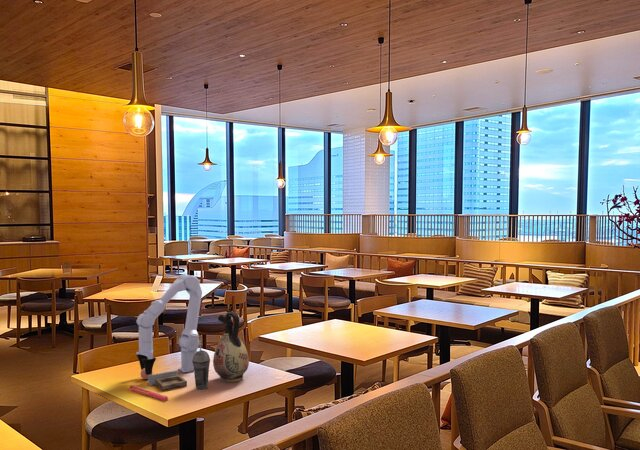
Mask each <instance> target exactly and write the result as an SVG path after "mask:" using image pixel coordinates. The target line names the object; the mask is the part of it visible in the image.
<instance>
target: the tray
mask: <svg viewBox="0 0 640 450" xmlns="http://www.w3.org/2000/svg"><path fill="white" fill-rule="evenodd" d="M155 386H156V387H157V388H159V389H160V390H161V391H162V392H167V391H171V390H177V389H182V388H186V387H187V386H188V381H187V380H186V379H184V378H183V377H182V376H181V375H179V374H177V376H172V377H167V378H162V379H157V380H156V384H155Z"/></svg>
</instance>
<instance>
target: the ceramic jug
mask: <svg viewBox="0 0 640 450" xmlns="http://www.w3.org/2000/svg"><path fill="white" fill-rule="evenodd" d="M217 320H218V322H220V323H222V324H224V328H225V330H224V332H223V335H222V336H221V338H220V340H219V342H218V343H217V345H216V347H215V350H214V353H213V359H212V363H213V364H212V366H213V369H214V371H215V373H216V374H217V375H218V376H219V378H220V379H221V381H222V382H226V383H232V382H233V383H234V382H239V381H241V380H243V379H244V374H245V373H246V372H247V370H248V368H249V365H250V357H249V353H248V352H249V351H248V350H247V348H246V345H245V344H244V343H243V341H242V338H241V337H239V331H240V330H239V329H240V317H239V314H238V313H237V312H235V311H228V312H226V314H225V315H224V314H220V315H219V316H218V317H217Z"/></svg>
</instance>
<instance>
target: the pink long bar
mask: <svg viewBox="0 0 640 450" xmlns="http://www.w3.org/2000/svg"><path fill="white" fill-rule="evenodd" d="M129 390H130V391H133V392H135V393H138V394H142V395H144V396H149V397H151V398H154V399H157V400H160V401H163V402H167V401H168V400H169V397H168V396H167V395H164V394H161V393H158V392H155V391H152V390H148V389H145V388H142V387H139V386H137V385H129Z"/></svg>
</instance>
